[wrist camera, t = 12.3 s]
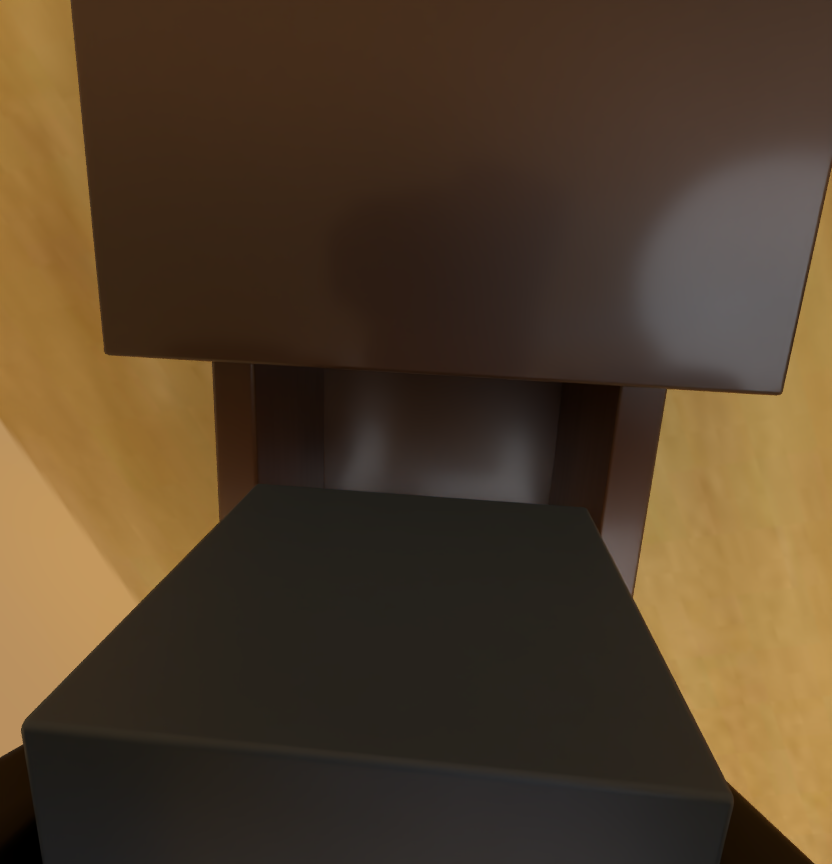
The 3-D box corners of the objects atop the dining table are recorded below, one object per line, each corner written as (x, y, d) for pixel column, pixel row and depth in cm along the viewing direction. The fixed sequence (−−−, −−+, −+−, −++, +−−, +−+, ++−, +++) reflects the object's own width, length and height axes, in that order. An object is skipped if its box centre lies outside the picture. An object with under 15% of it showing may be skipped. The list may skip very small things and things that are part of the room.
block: (551, 778, 10) (631, 1249, 5) (264, 748, 10) (88, 1165, 6) (587, 505, 9) (739, 798, 4) (256, 482, 9) (14, 723, 4)
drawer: (565, 704, 19) (619, 938, 13) (287, 677, 20) (195, 887, 13) (639, 168, 15) (783, 83, 8) (280, 155, 16) (136, 67, 9)
